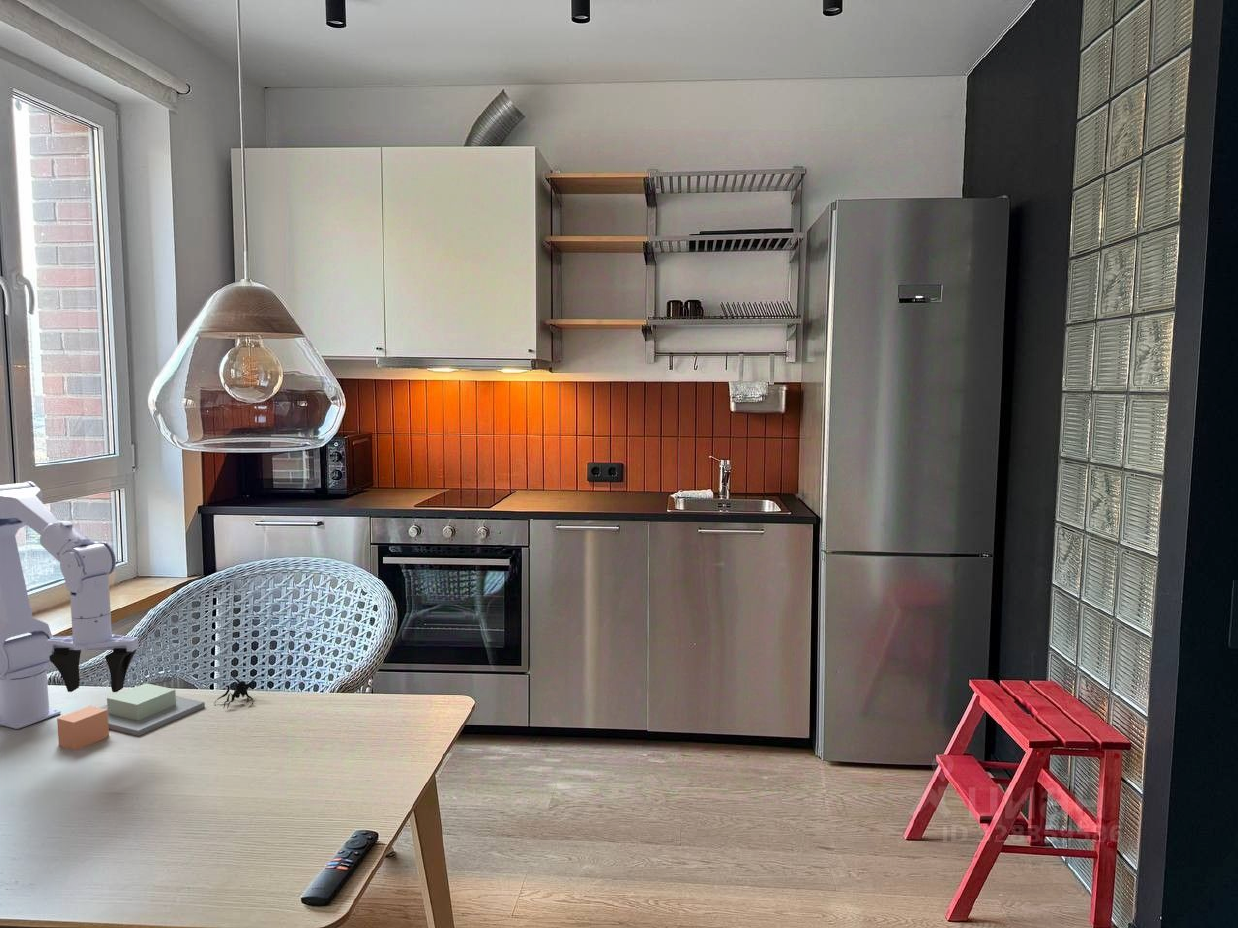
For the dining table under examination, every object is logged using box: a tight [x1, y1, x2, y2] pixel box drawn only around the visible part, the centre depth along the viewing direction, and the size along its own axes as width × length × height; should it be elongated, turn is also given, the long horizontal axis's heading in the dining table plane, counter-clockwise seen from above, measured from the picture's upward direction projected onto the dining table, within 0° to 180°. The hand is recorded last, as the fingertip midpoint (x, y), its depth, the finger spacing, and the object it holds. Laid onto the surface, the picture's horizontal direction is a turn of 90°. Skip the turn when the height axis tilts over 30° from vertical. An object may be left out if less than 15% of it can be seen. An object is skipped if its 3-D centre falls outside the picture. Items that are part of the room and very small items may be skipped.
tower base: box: [99, 682, 206, 737], centre depth 156 cm, size 16×14×4 cm
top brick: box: [56, 705, 110, 751], centre depth 144 cm, size 4×6×5 cm
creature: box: [213, 673, 261, 709], centre depth 161 cm, size 8×5×8 cm
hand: (95, 689), depth 143 cm, fingers open, 7 cm apart
